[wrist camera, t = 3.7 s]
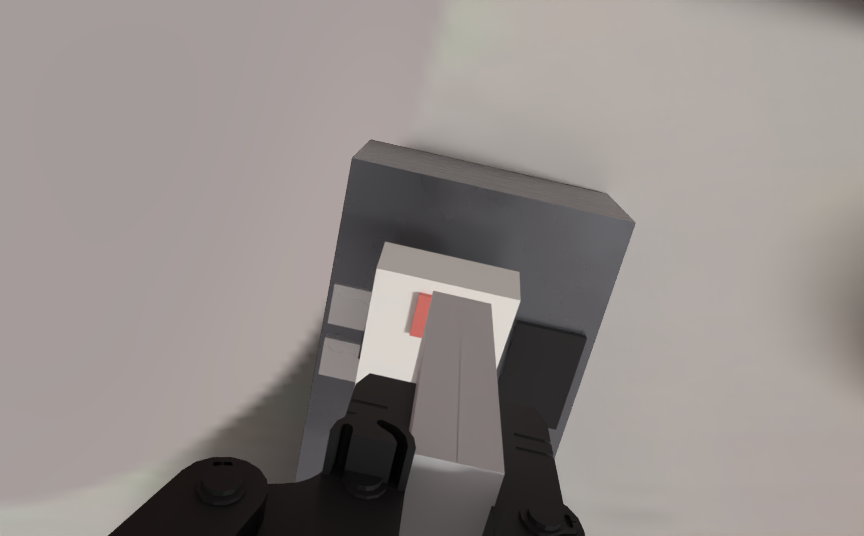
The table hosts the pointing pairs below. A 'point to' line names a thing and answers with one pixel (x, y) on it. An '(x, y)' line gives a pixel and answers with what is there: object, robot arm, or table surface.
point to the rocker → (427, 305)
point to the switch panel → (479, 242)
